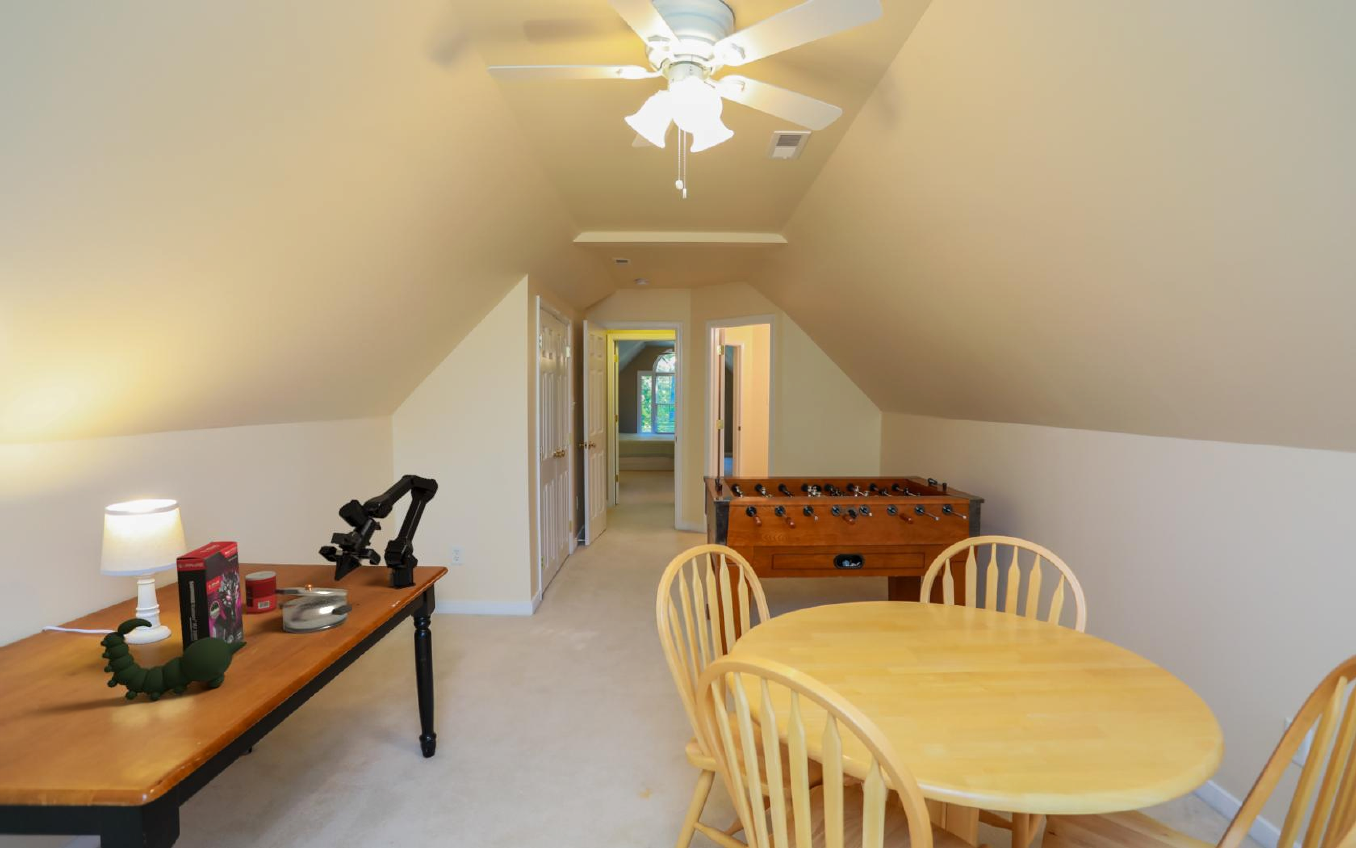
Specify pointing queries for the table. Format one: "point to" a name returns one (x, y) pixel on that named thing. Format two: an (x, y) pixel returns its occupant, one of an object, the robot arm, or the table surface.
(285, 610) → the cooker pot
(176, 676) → the toy figurine
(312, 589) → the cooker lid
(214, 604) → the graphics card box
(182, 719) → the table surface
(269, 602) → the canned food
